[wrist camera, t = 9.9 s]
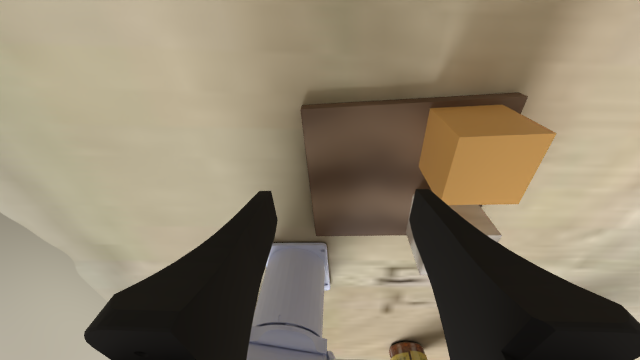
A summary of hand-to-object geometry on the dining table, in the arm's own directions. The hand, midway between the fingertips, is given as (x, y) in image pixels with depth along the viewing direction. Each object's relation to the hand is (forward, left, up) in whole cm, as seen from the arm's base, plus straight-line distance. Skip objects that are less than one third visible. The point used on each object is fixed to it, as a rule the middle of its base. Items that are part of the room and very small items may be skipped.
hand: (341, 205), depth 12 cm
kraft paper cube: (-1, -9, -8) cm, 12 cm away
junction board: (-5, -5, -9) cm, 12 cm away
